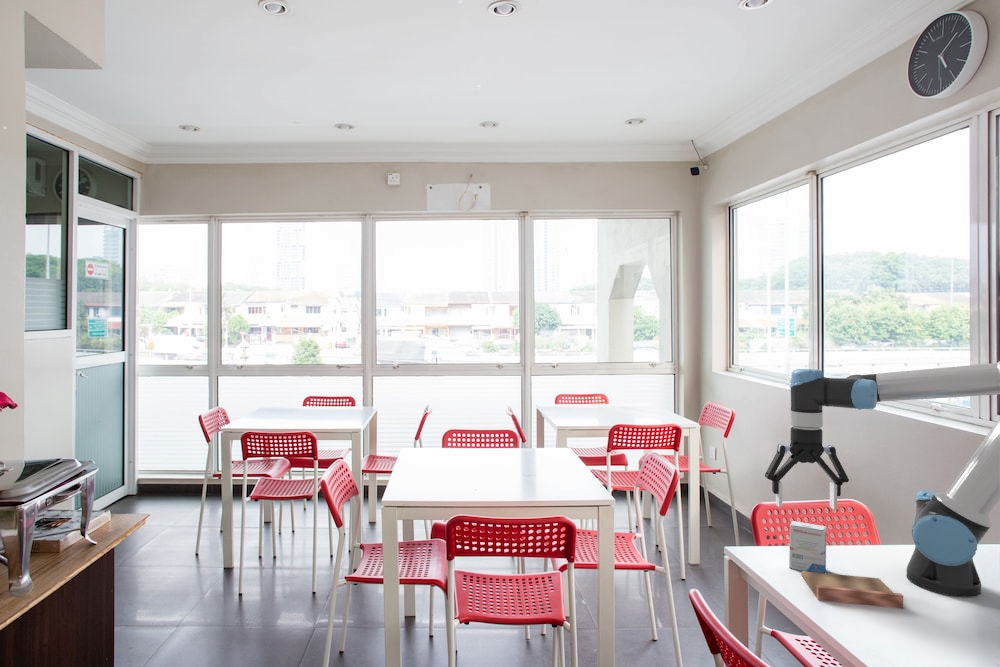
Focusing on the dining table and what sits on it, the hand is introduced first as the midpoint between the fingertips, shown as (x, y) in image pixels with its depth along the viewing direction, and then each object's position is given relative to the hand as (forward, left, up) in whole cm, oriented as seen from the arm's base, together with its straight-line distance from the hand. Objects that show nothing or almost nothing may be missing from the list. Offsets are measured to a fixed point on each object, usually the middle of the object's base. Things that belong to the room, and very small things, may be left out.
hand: (806, 507), depth 156 cm
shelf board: (-7, +10, -17) cm, 21 cm away
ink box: (-1, -2, -17) cm, 17 cm away
